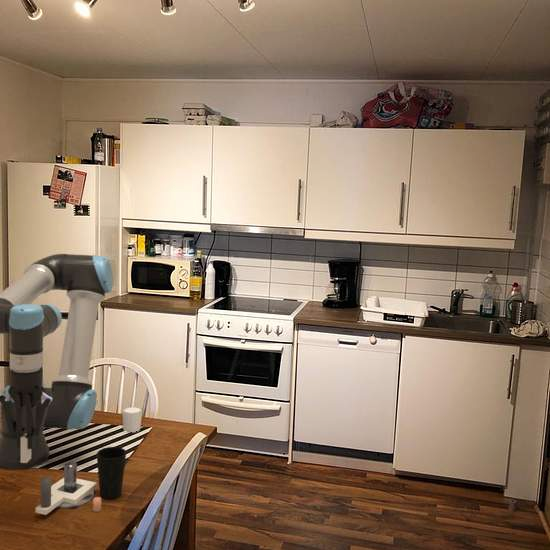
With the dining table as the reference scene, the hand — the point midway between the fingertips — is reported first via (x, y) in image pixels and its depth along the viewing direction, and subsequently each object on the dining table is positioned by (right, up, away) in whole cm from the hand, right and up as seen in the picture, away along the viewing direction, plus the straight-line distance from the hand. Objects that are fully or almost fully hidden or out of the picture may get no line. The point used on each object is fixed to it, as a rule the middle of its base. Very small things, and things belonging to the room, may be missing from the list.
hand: (25, 460), depth 149 cm
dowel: (+16, -15, +6) cm, 22 cm away
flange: (+6, -12, +8) cm, 16 cm away
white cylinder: (+13, -7, +58) cm, 60 cm away
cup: (+17, -14, +14) cm, 26 cm away
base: (+7, -13, +12) cm, 19 cm away
